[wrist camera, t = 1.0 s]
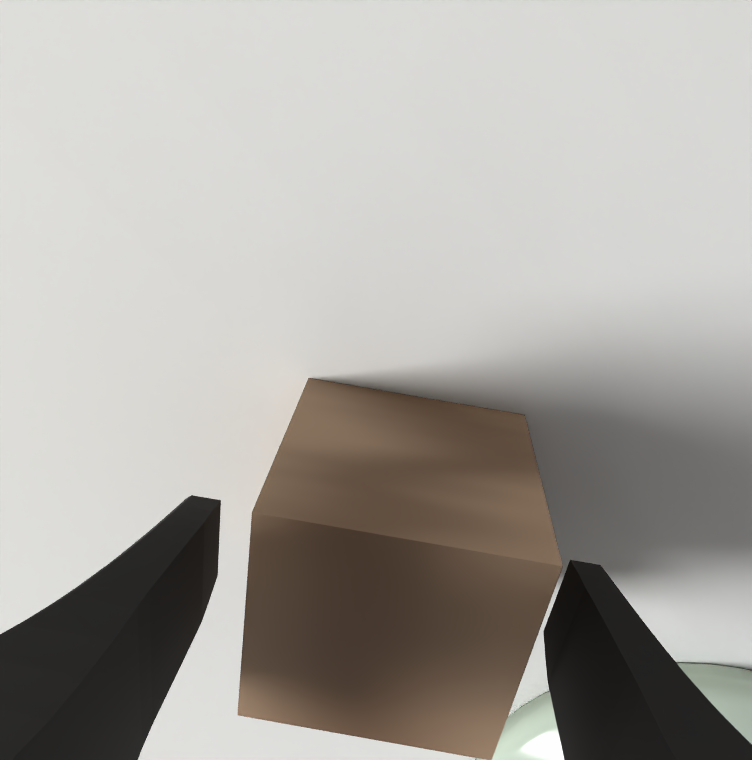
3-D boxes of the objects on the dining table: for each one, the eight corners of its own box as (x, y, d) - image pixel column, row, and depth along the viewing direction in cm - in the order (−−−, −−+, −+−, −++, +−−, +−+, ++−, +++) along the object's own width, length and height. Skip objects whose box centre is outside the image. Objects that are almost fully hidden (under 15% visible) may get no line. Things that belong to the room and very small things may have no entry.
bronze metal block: (524, 413, 14) (563, 566, 10) (477, 575, 17) (491, 760, 12) (309, 376, 15) (251, 511, 10) (291, 543, 17) (237, 715, 12)
